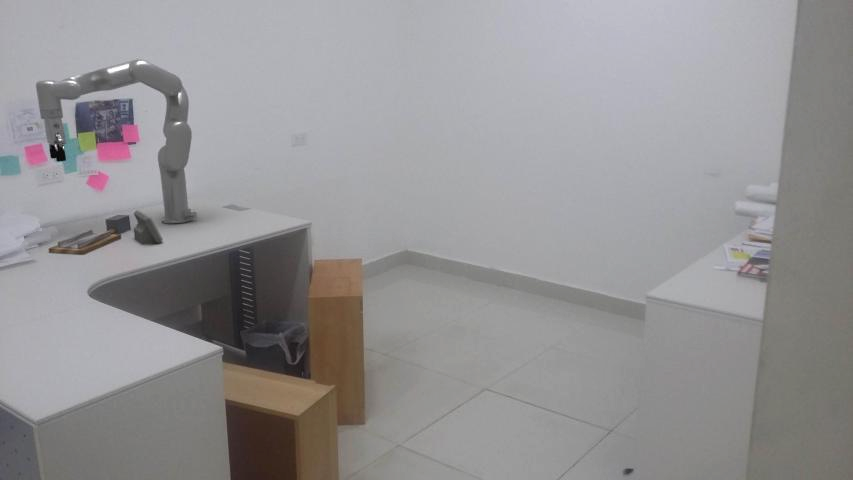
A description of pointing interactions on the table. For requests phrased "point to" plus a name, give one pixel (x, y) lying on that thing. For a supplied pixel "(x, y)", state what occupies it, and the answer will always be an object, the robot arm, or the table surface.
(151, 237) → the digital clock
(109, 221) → the block
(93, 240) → the rail mount
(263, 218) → the table surface
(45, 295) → the table surface
